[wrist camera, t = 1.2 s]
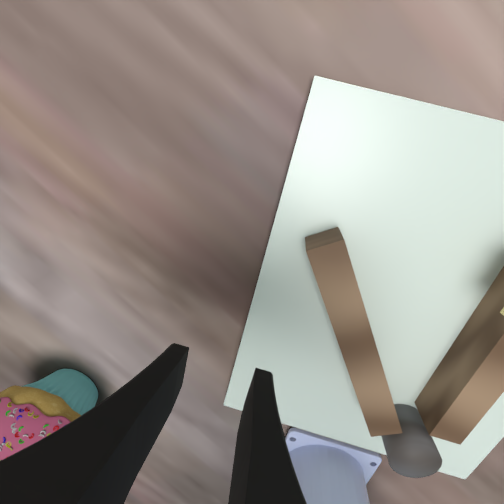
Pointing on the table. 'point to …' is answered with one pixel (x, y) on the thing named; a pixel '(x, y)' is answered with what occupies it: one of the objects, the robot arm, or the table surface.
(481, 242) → the serving board
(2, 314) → the table surface
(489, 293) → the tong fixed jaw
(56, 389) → the cupcake
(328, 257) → the tong jaw
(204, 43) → the table surface
